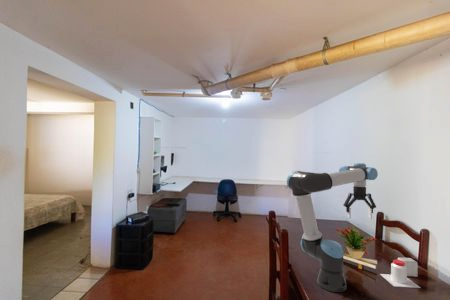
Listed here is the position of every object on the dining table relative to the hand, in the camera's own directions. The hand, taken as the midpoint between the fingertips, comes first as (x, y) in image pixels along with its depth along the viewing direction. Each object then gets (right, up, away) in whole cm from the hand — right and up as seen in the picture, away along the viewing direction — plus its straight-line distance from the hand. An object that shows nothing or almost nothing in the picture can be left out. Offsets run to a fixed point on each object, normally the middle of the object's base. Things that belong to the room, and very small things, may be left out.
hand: (359, 217), depth 163 cm
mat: (+12, -31, -21) cm, 39 cm away
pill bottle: (+12, -31, -21) cm, 39 cm away
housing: (+24, -32, -11) cm, 41 cm away
